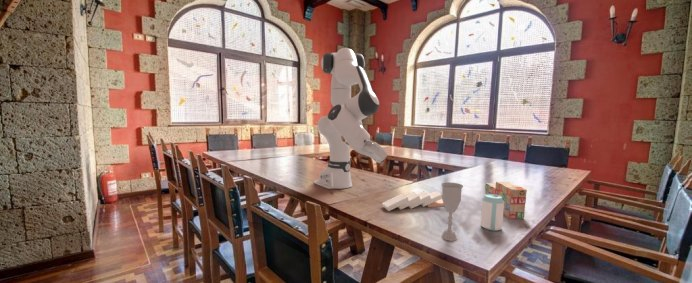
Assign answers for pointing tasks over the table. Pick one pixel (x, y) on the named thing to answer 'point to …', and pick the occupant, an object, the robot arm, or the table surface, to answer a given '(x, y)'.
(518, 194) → the stack of blocks
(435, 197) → the domino
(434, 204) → the domino
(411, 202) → the domino
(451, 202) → the chalice
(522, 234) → the table surface
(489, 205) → the can
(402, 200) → the domino
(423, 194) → the domino
